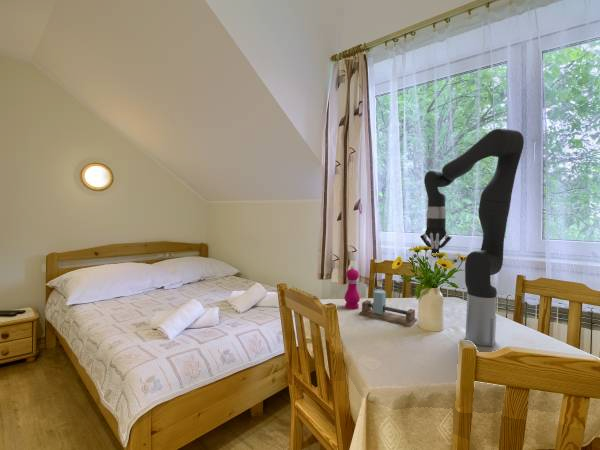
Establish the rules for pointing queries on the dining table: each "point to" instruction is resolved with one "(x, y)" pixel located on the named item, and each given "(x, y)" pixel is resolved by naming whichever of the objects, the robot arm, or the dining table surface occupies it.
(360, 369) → the dining table surface
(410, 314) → the rail
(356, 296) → the pepper mill
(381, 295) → the sleeve
